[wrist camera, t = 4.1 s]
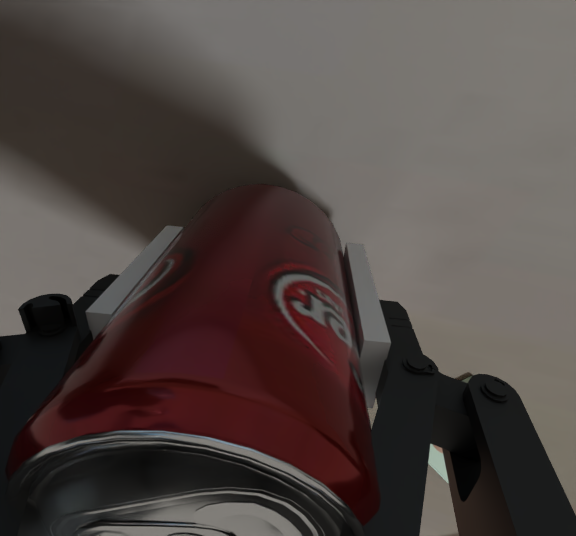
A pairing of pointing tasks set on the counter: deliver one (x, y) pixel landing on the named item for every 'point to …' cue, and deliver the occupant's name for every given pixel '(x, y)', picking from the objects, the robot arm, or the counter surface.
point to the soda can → (215, 391)
